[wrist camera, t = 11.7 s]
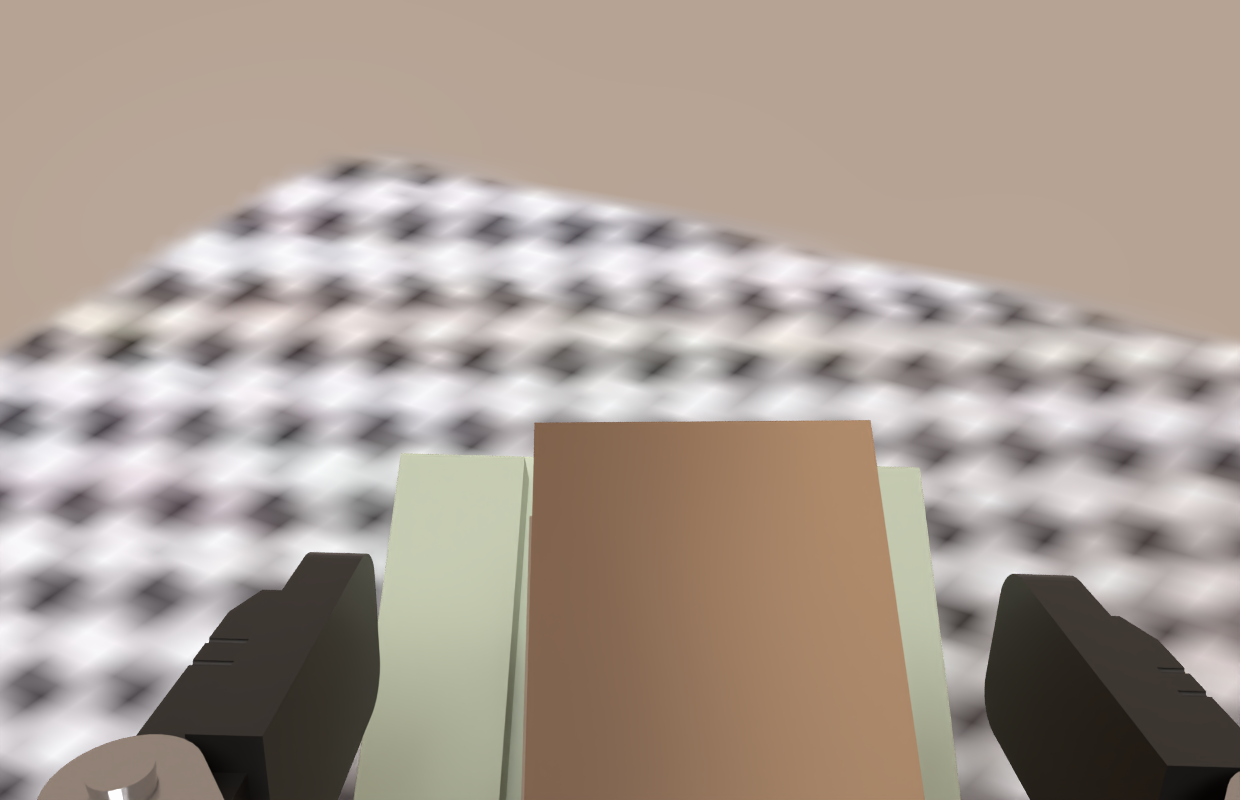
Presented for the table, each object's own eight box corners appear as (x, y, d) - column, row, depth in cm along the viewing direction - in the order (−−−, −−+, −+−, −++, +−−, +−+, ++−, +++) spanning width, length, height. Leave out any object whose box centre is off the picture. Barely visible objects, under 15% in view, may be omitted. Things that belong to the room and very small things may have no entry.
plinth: (893, 492, 22) (929, 445, 19) (963, 1137, 17) (1025, 1185, 14) (415, 478, 22) (391, 430, 19) (333, 1121, 17) (286, 1165, 14)
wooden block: (744, 631, 19) (869, 420, 10) (764, 917, 17) (951, 978, 8) (564, 633, 19) (525, 423, 10) (560, 920, 17) (507, 987, 8)
